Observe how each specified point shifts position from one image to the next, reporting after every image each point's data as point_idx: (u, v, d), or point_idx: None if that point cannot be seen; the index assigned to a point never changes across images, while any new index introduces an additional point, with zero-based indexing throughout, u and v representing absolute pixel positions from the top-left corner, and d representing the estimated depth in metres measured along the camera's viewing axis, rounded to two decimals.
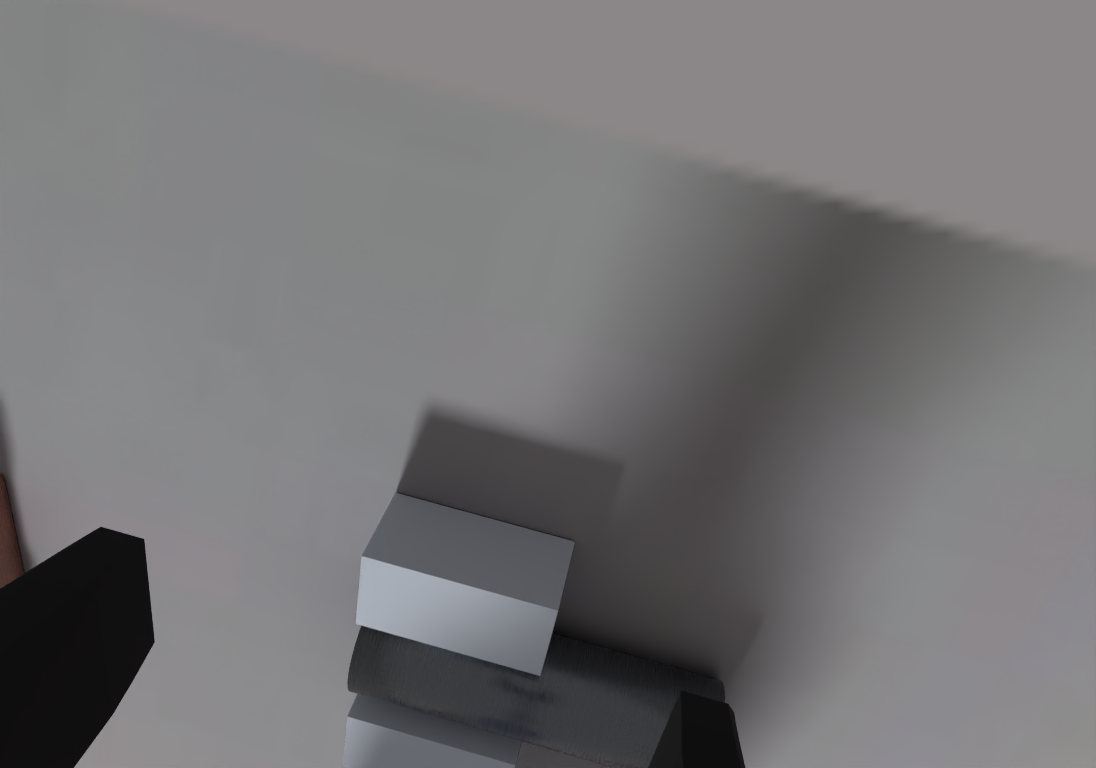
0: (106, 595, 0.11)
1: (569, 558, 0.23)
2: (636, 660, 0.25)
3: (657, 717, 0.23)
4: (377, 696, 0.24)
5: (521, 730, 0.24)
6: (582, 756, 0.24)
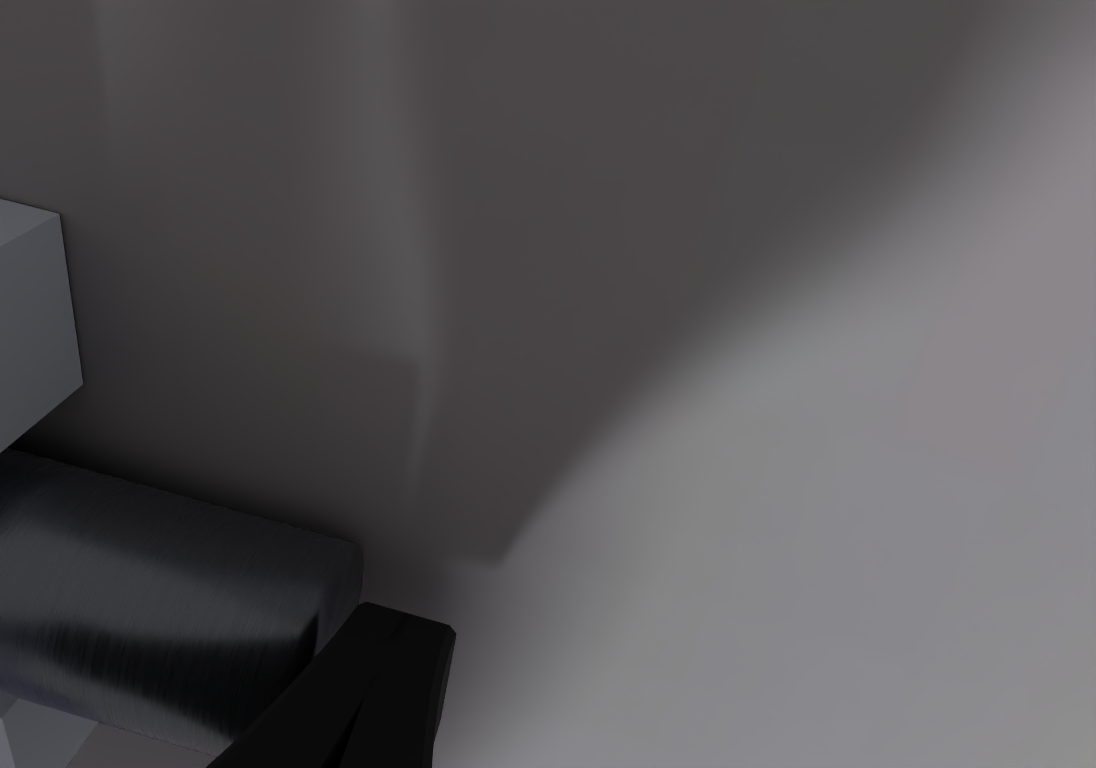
0: None
1: (17, 234, 0.10)
2: (161, 501, 0.11)
3: (151, 621, 0.10)
4: None
5: None
6: (26, 700, 0.11)
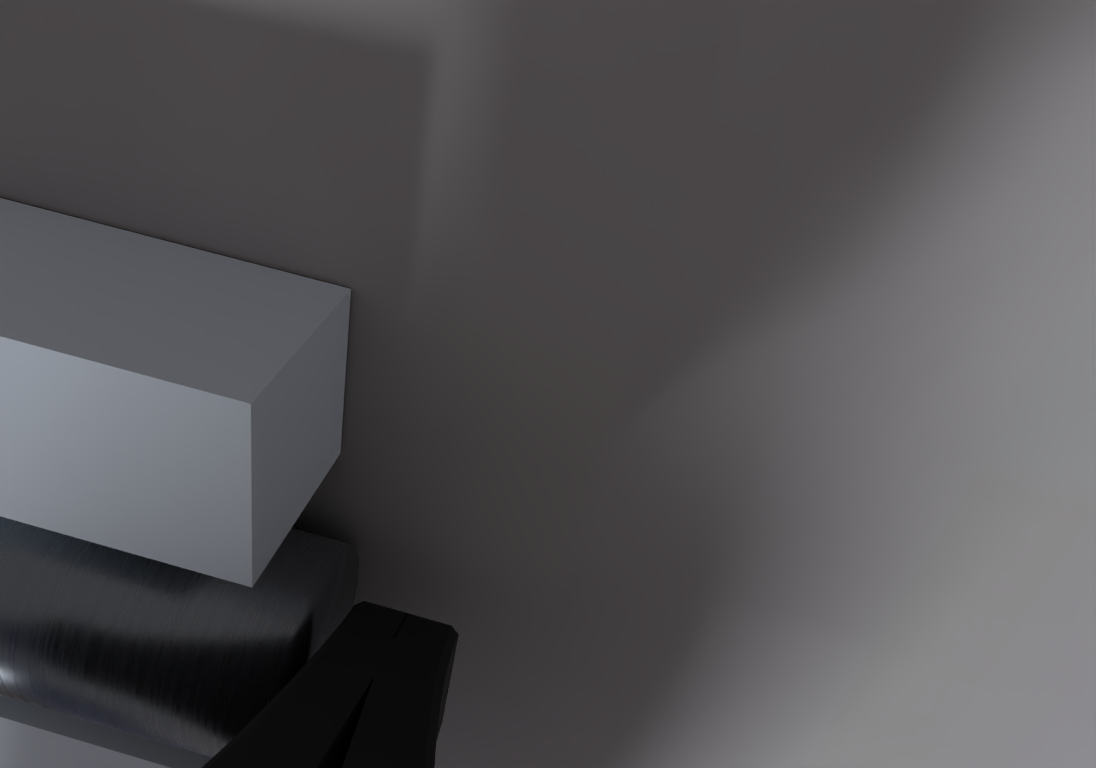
0: None
1: (325, 313, 0.10)
2: None
3: (144, 621, 0.10)
4: None
5: None
6: (20, 700, 0.11)
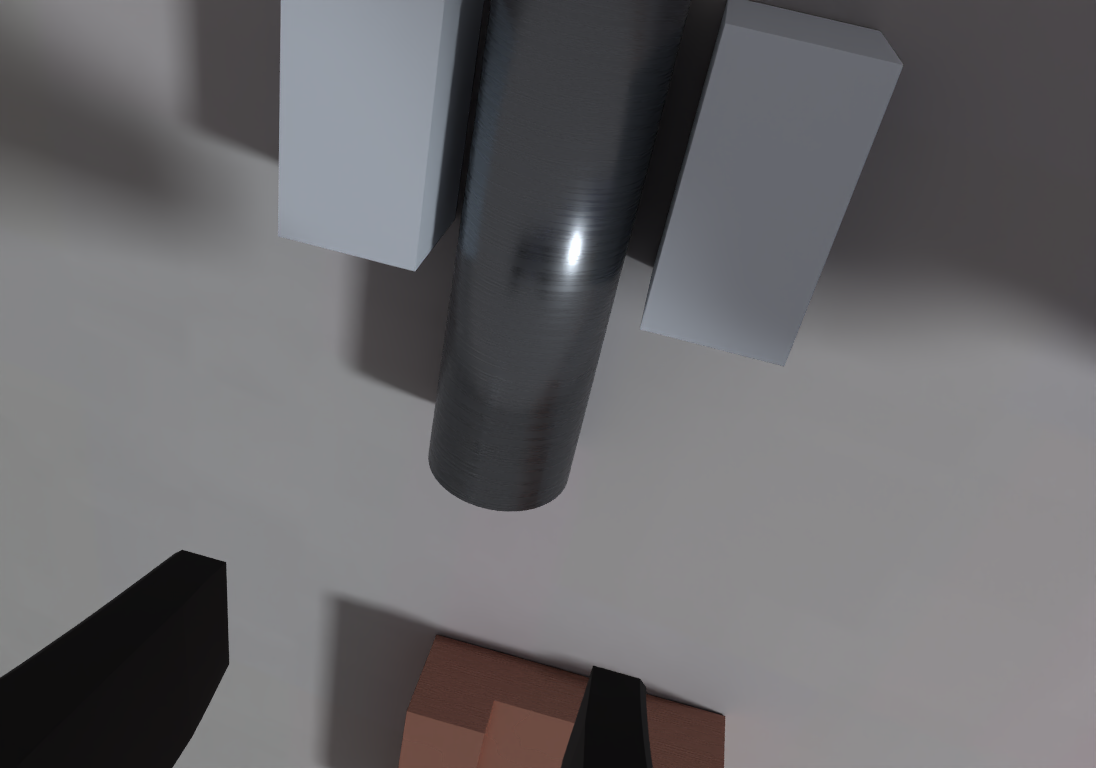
0: (192, 620, 0.11)
1: None
2: None
3: (490, 58, 0.13)
4: (507, 478, 0.17)
5: (522, 290, 0.15)
6: (568, 197, 0.14)
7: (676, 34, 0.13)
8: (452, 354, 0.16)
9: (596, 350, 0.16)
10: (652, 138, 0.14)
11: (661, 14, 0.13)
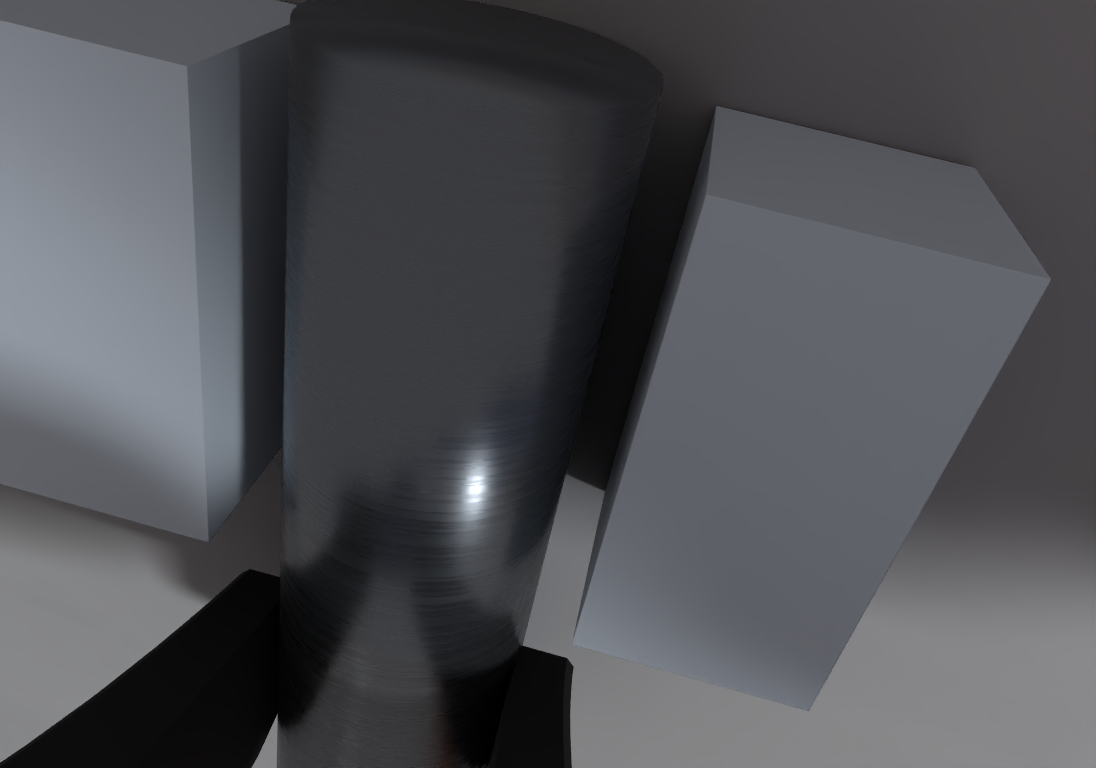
0: (264, 640, 0.10)
1: None
2: None
3: (290, 237, 0.07)
4: None
5: (379, 603, 0.09)
6: (445, 475, 0.08)
7: (627, 196, 0.07)
8: (287, 660, 0.10)
9: (516, 647, 0.10)
10: (591, 355, 0.08)
11: (597, 172, 0.07)
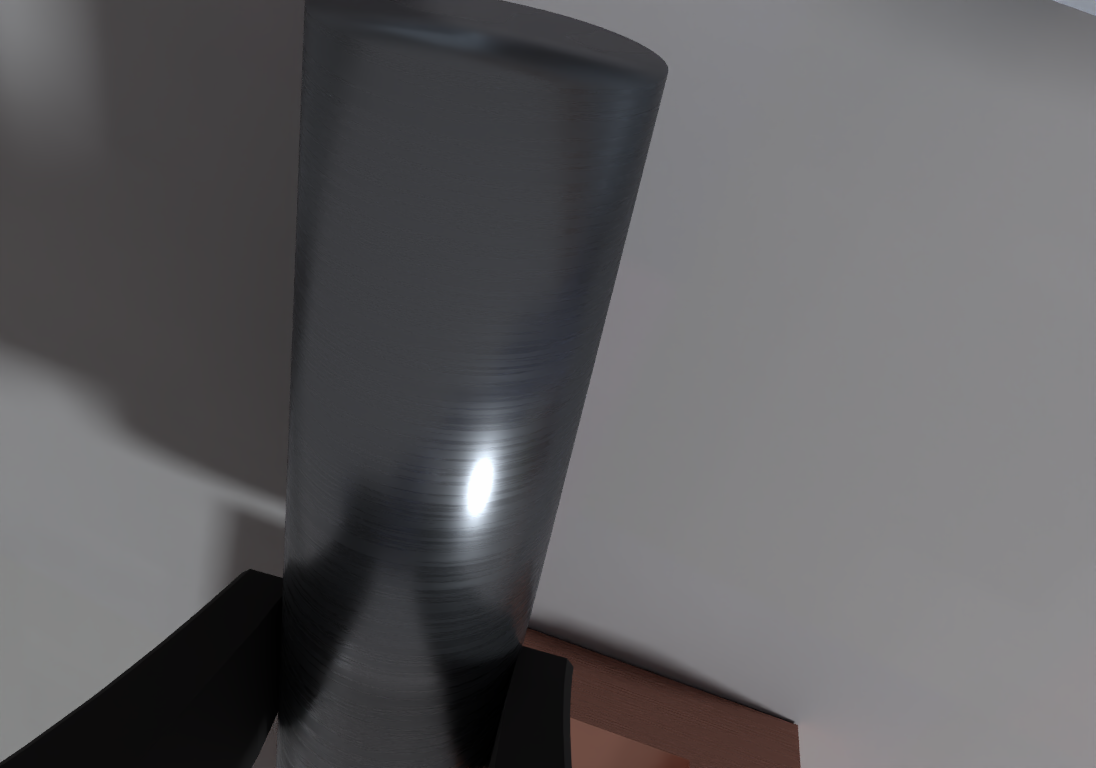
0: (264, 640, 0.10)
1: None
2: None
3: (301, 221, 0.08)
4: None
5: (386, 589, 0.09)
6: (453, 456, 0.08)
7: (633, 179, 0.07)
8: (290, 653, 0.10)
9: (519, 638, 0.10)
10: (596, 340, 0.08)
11: (605, 152, 0.07)
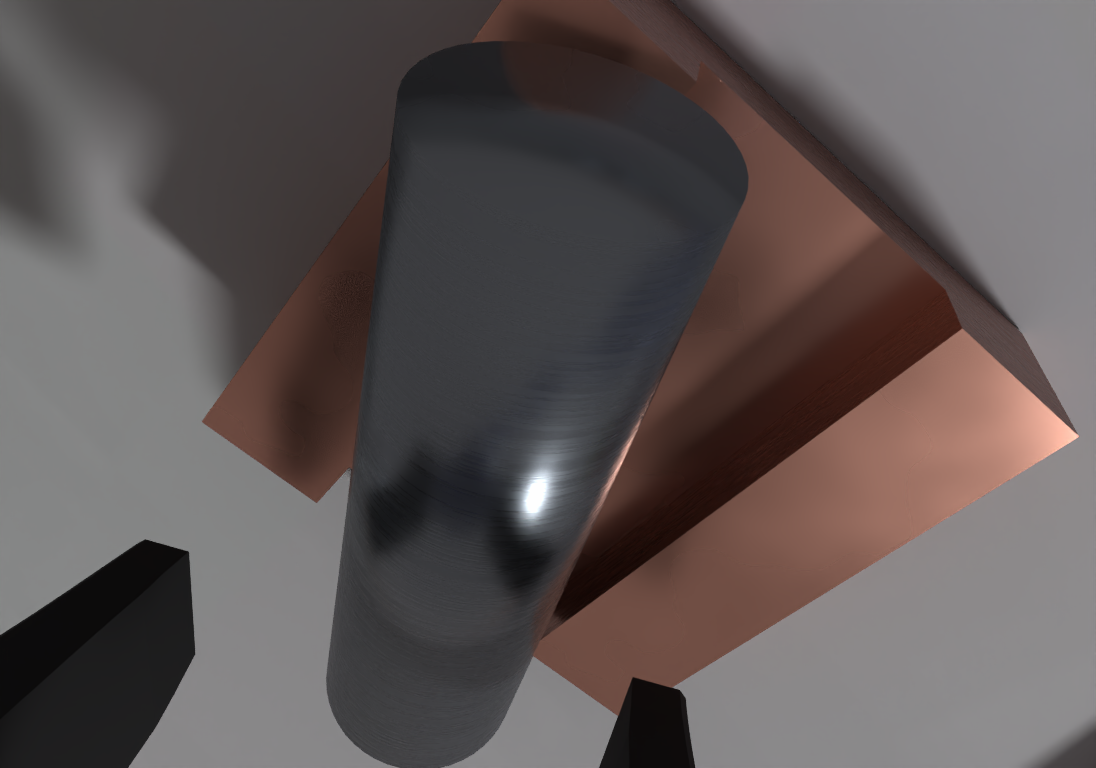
0: (153, 608, 0.11)
1: None
2: None
3: (409, 337, 0.08)
4: (464, 740, 0.13)
5: (488, 601, 0.10)
6: (563, 504, 0.09)
7: None
8: (368, 645, 0.11)
9: None
10: None
11: (714, 257, 0.07)
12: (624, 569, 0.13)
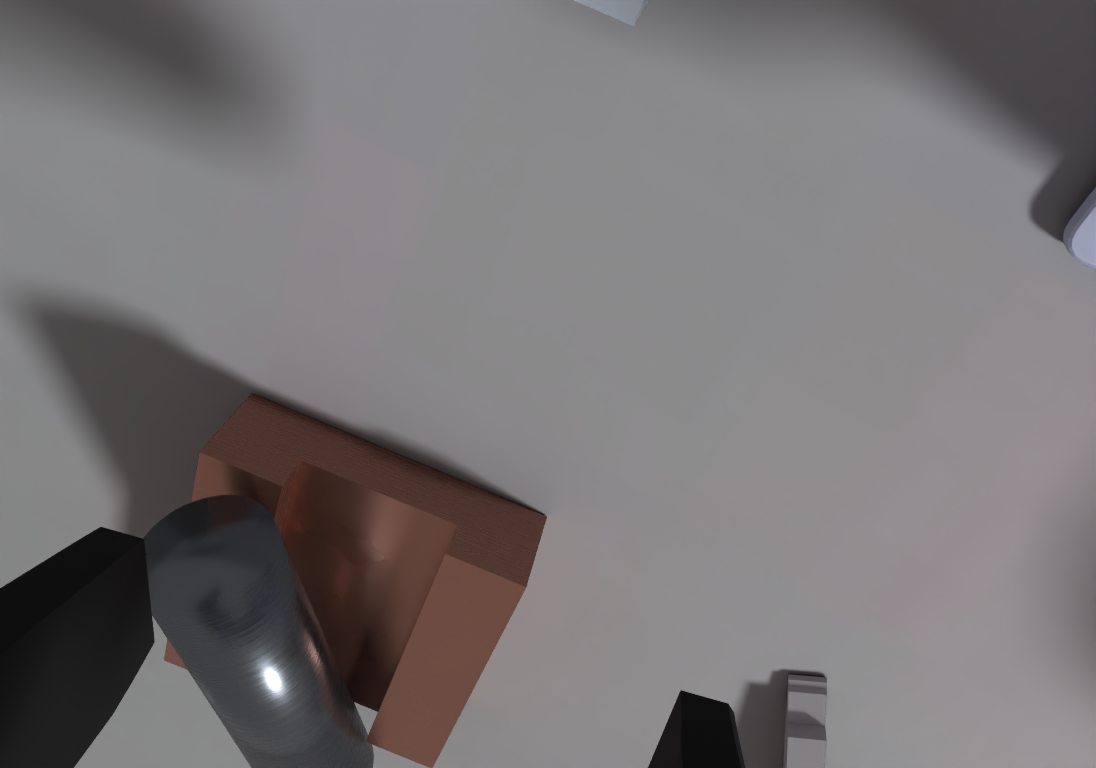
0: (106, 595, 0.11)
1: None
2: None
3: (169, 641, 0.19)
4: None
5: (273, 730, 0.21)
6: (270, 685, 0.20)
7: (283, 573, 0.19)
8: (249, 760, 0.22)
9: (343, 705, 0.23)
10: (304, 611, 0.20)
11: (267, 584, 0.18)
12: None
